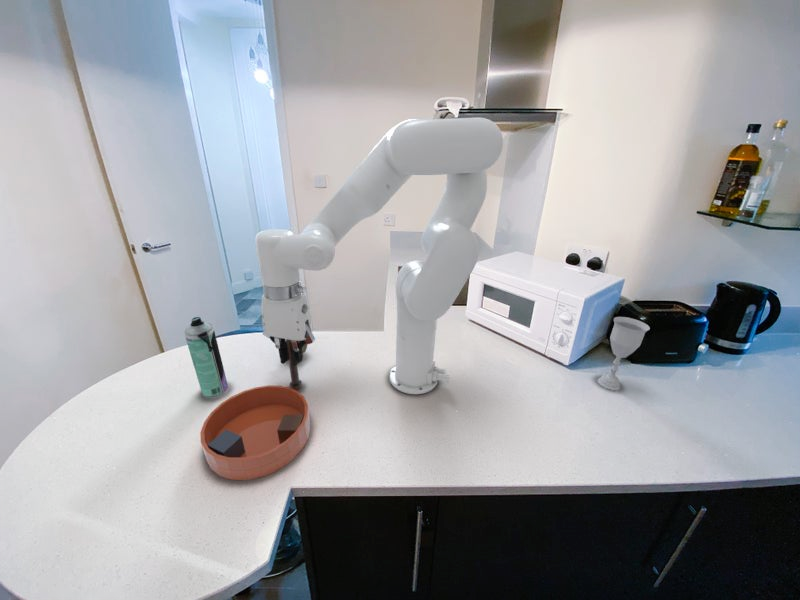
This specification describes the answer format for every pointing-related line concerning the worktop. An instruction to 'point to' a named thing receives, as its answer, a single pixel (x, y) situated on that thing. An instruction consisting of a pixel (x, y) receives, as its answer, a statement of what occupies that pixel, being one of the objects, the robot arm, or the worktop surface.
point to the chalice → (623, 346)
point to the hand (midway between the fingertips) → (291, 361)
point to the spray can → (206, 358)
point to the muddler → (293, 368)
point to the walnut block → (288, 426)
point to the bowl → (256, 431)
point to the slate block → (228, 445)
